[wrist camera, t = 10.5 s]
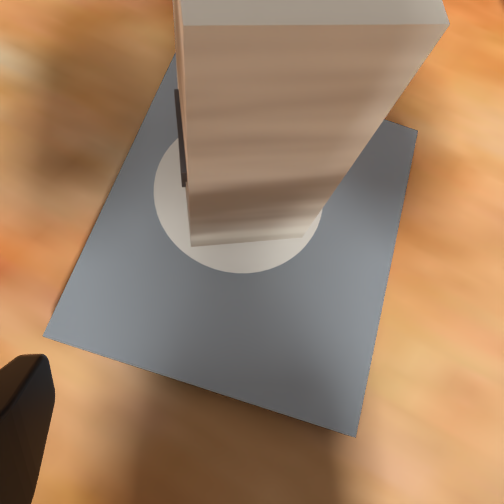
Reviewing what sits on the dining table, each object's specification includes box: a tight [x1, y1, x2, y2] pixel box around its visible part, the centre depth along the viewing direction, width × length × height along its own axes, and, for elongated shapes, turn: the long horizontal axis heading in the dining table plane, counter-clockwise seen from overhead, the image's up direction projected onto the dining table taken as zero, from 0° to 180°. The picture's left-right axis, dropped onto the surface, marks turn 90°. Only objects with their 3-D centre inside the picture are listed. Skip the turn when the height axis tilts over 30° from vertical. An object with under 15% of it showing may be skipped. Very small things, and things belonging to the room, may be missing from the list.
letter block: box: [173, 0, 450, 247], centre depth 13 cm, size 5×5×11 cm
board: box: [43, 52, 418, 438], centre depth 18 cm, size 14×12×1 cm
